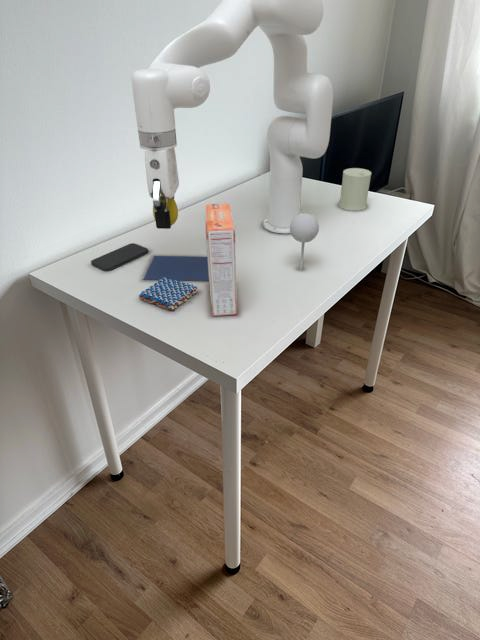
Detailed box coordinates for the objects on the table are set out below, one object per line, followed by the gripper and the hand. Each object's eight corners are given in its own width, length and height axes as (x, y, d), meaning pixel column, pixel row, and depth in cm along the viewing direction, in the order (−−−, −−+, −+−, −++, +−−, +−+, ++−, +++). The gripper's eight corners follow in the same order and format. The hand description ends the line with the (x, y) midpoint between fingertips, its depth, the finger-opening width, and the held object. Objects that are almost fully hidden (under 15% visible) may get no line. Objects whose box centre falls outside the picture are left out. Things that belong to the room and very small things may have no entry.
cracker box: (208, 285, 111) (204, 203, 99) (233, 284, 112) (231, 202, 100) (210, 317, 100) (205, 229, 88) (237, 315, 100) (236, 227, 88)
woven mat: (200, 292, 108) (199, 285, 107) (172, 313, 101) (171, 305, 100) (166, 281, 113) (165, 273, 112) (137, 300, 106) (136, 293, 105)
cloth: (219, 257, 123) (219, 257, 123) (214, 281, 113) (214, 280, 113) (154, 256, 124) (154, 255, 124) (143, 279, 114) (143, 279, 114)
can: (351, 213, 149) (356, 176, 142) (333, 204, 156) (337, 169, 149) (372, 207, 153) (378, 172, 146) (353, 199, 160) (358, 165, 153)
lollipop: (317, 264, 120) (322, 210, 111) (311, 277, 114) (317, 221, 105) (291, 261, 121) (294, 207, 113) (284, 273, 116) (287, 217, 107)
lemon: (181, 223, 105) (178, 190, 100) (176, 233, 100) (173, 198, 96) (158, 223, 105) (154, 189, 101) (152, 232, 101) (147, 198, 96)
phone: (150, 249, 126) (106, 269, 116) (150, 252, 126) (107, 272, 117) (132, 242, 130) (88, 261, 120) (132, 245, 130) (89, 264, 120)
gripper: (167, 149, 85) (176, 238, 95) (183, 129, 99) (189, 208, 109) (128, 149, 85) (141, 238, 95) (149, 129, 99) (158, 208, 109)
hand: (166, 221), depth 102 cm, fingers closed on lemon, 5 cm apart
